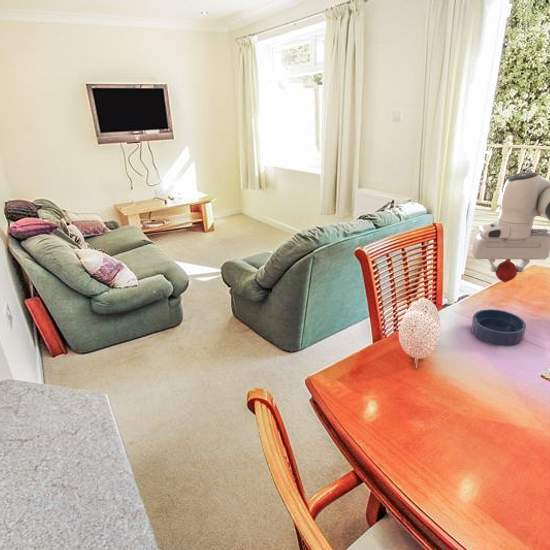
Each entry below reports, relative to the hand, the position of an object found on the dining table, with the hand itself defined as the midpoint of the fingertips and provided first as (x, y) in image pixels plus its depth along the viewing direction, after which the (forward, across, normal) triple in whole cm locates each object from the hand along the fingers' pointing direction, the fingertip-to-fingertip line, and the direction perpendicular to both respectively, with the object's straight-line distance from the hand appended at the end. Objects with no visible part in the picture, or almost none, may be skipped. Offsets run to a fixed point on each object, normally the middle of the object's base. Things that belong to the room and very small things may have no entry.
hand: (506, 271), depth 117 cm
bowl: (+19, +2, +7) cm, 20 cm away
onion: (+4, 0, 0) cm, 4 cm away
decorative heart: (+19, +27, +23) cm, 40 cm away
